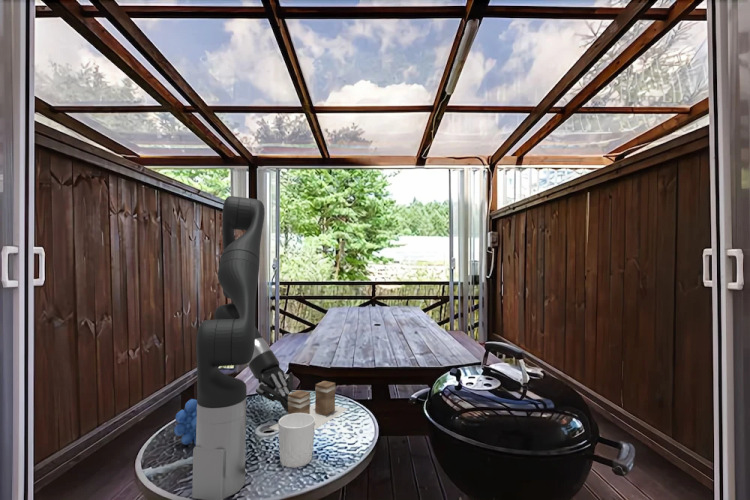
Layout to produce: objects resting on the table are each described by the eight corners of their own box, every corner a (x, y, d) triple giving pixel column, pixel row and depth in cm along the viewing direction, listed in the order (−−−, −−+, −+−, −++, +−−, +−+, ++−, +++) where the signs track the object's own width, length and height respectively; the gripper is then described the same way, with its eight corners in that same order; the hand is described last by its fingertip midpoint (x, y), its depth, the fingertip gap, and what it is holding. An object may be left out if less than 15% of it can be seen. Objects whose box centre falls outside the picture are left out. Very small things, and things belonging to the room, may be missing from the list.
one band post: (314, 412, 107) (315, 384, 107) (323, 407, 110) (324, 380, 111) (326, 415, 105) (326, 387, 105) (335, 410, 108) (335, 382, 108)
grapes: (228, 436, 96) (229, 389, 96) (219, 449, 89) (220, 398, 89) (181, 437, 95) (182, 390, 95) (169, 451, 88) (170, 399, 88)
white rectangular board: (268, 433, 97) (268, 427, 97) (318, 406, 115) (319, 401, 115) (301, 444, 92) (301, 437, 92) (348, 414, 110) (348, 408, 110)
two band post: (287, 424, 99) (287, 394, 99) (298, 419, 102) (298, 389, 102) (299, 428, 96) (300, 397, 97) (310, 422, 100) (310, 392, 100)
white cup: (318, 457, 86) (318, 413, 86) (308, 477, 78) (309, 428, 78) (284, 455, 87) (285, 411, 87) (272, 474, 79) (273, 426, 79)
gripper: (248, 354, 100) (281, 410, 94) (283, 345, 112) (314, 394, 105) (234, 371, 102) (266, 426, 96) (270, 360, 114) (300, 409, 108)
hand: (291, 409), depth 101 cm, fingers closed
